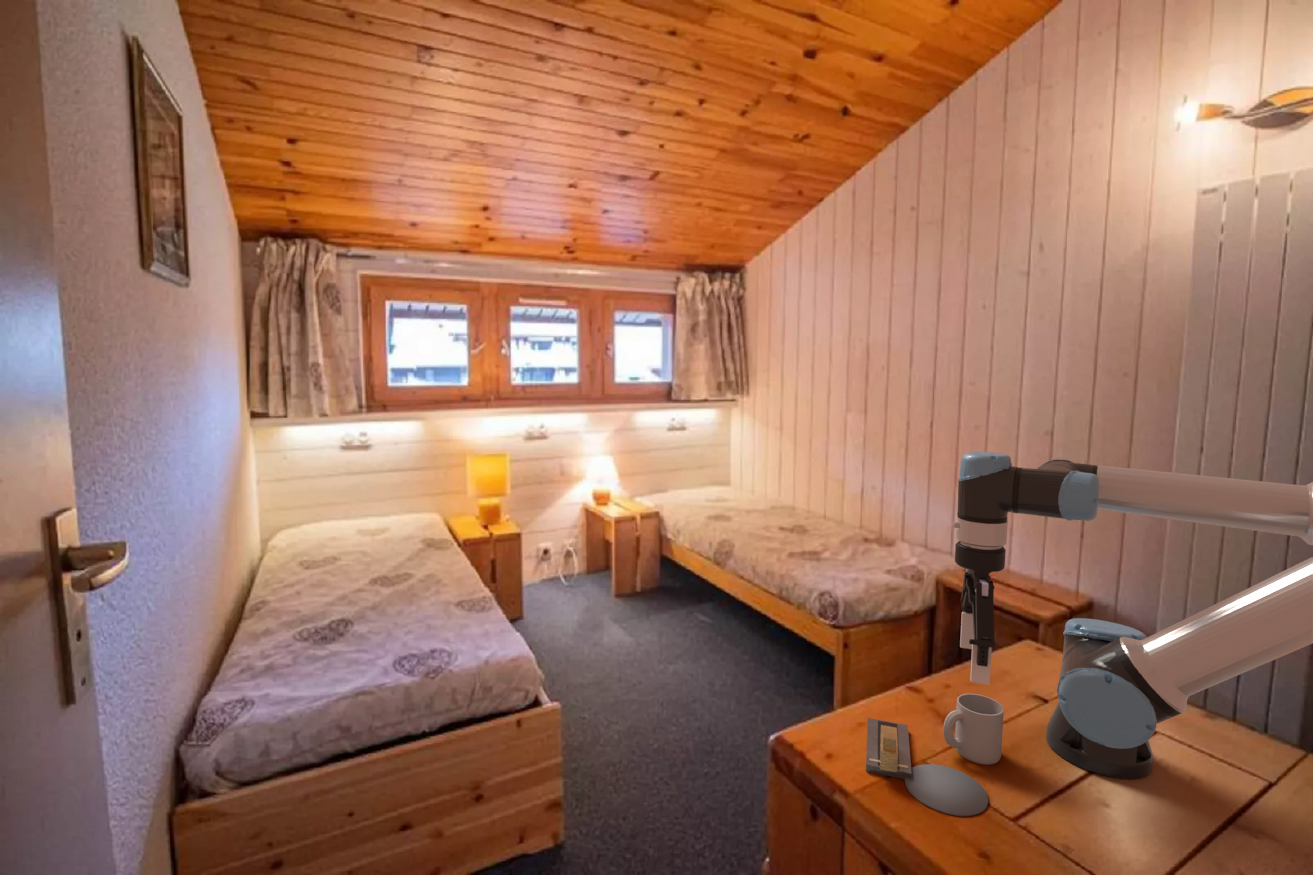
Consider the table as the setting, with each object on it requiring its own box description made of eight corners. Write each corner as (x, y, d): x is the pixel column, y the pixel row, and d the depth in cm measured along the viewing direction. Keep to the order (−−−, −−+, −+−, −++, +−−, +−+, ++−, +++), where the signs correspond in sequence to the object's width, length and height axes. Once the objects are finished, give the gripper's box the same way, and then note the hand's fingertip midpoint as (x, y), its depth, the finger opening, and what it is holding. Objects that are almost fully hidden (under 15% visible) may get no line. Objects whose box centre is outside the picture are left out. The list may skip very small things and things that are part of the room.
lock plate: (907, 731, 114) (907, 724, 114) (911, 780, 100) (911, 773, 100) (867, 723, 116) (867, 717, 116) (865, 771, 102) (866, 763, 102)
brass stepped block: (896, 745, 107) (897, 716, 106) (897, 772, 99) (898, 742, 99) (880, 742, 108) (881, 714, 107) (880, 769, 100) (881, 739, 100)
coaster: (981, 775, 101) (981, 773, 101) (994, 824, 90) (994, 822, 90) (903, 759, 105) (903, 758, 105) (906, 805, 94) (906, 803, 94)
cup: (1010, 764, 104) (1013, 714, 103) (954, 768, 103) (957, 717, 102) (983, 739, 111) (986, 692, 110) (931, 742, 110) (933, 695, 109)
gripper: (948, 525, 117) (942, 632, 119) (965, 562, 93) (958, 695, 95) (992, 528, 114) (986, 638, 116) (1021, 567, 91) (1013, 704, 93)
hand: (973, 664), depth 106 cm, fingers open, 13 cm apart
